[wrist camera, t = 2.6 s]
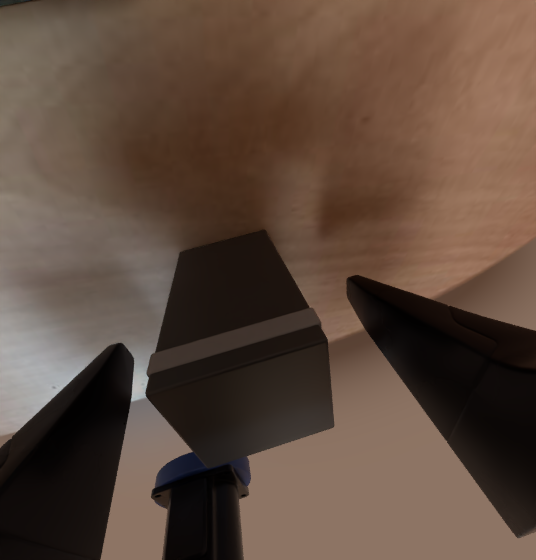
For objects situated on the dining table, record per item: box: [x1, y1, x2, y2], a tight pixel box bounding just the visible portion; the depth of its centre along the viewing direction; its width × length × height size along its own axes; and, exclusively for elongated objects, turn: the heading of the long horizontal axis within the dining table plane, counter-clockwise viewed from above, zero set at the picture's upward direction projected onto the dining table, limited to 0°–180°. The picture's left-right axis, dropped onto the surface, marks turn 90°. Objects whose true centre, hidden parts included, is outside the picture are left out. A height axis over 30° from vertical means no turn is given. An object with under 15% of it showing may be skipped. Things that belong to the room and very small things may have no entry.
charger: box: [145, 230, 334, 468], centre depth 9 cm, size 4×4×7 cm
